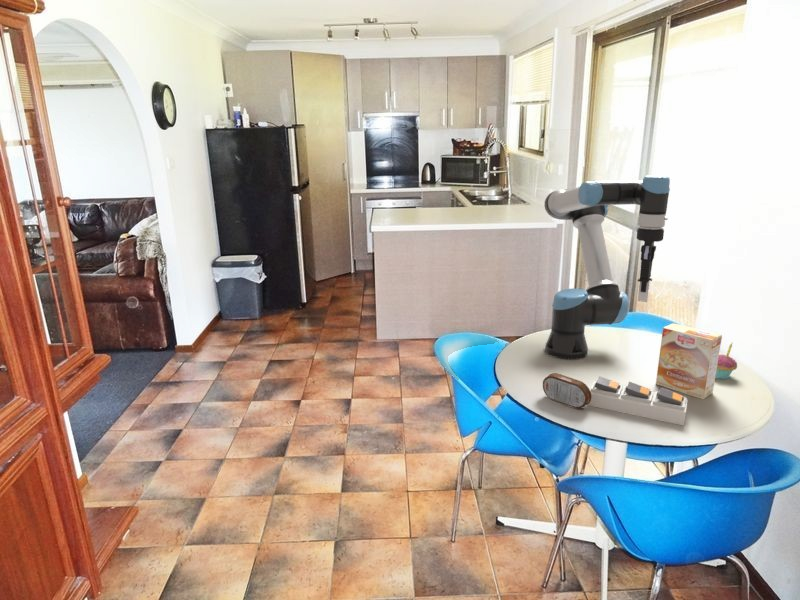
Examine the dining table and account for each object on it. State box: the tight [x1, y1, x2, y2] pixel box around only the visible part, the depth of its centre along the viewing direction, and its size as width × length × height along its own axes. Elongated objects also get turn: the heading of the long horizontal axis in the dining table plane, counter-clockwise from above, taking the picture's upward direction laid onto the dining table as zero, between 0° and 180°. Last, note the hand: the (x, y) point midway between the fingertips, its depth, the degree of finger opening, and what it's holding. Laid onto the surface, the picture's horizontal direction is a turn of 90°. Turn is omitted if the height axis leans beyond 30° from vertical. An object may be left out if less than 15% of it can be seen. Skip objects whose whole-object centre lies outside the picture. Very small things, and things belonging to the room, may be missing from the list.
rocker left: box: [595, 376, 620, 393], centre depth 165 cm, size 6×5×2 cm
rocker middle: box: [625, 381, 651, 399], centre depth 161 cm, size 6×5×2 cm
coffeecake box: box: [655, 322, 723, 400], centre depth 172 cm, size 15×7×20 cm, turn 40°
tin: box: [542, 372, 591, 410], centre depth 165 cm, size 15×3×8 cm, turn 44°
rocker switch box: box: [587, 379, 688, 426], centre depth 162 cm, size 28×9×5 cm, turn 61°
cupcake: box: [715, 342, 738, 380], centre depth 181 cm, size 9×8×12 cm
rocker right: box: [657, 387, 684, 406], centre depth 157 cm, size 6×5×2 cm
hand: (642, 300), depth 176 cm, fingers closed
